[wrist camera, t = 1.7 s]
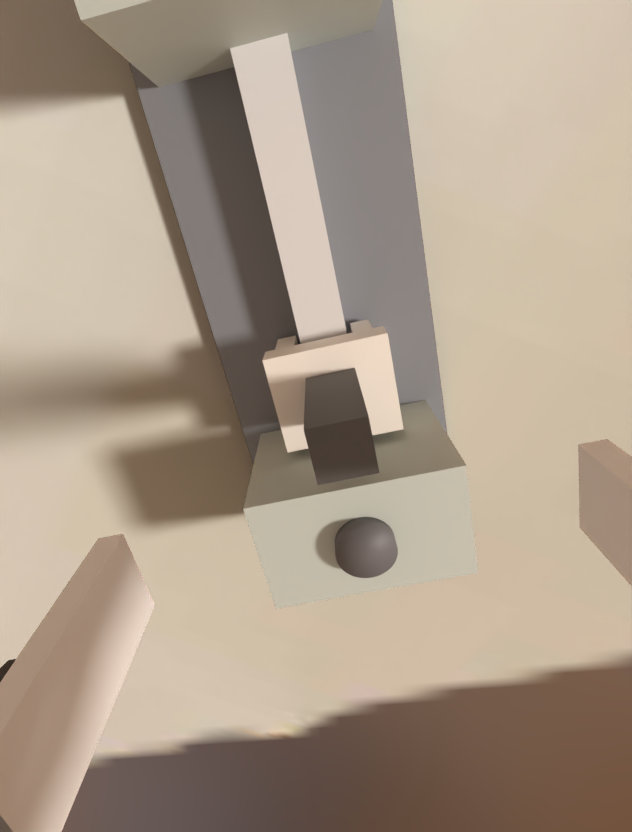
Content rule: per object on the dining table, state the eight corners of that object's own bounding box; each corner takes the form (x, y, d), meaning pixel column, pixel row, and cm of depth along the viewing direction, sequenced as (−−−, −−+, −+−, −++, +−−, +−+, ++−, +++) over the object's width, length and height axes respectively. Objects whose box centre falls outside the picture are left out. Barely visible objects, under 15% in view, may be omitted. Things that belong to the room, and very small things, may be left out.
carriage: (268, 341, 26) (246, 407, 17) (377, 317, 25) (413, 371, 16) (290, 423, 28) (280, 521, 19) (391, 402, 27) (431, 492, 18)
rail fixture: (85, -95, 20) (-95, -343, 11) (365, -180, 19) (411, -524, 10) (274, 523, 32) (260, 640, 23) (451, 489, 31) (507, 597, 22)
